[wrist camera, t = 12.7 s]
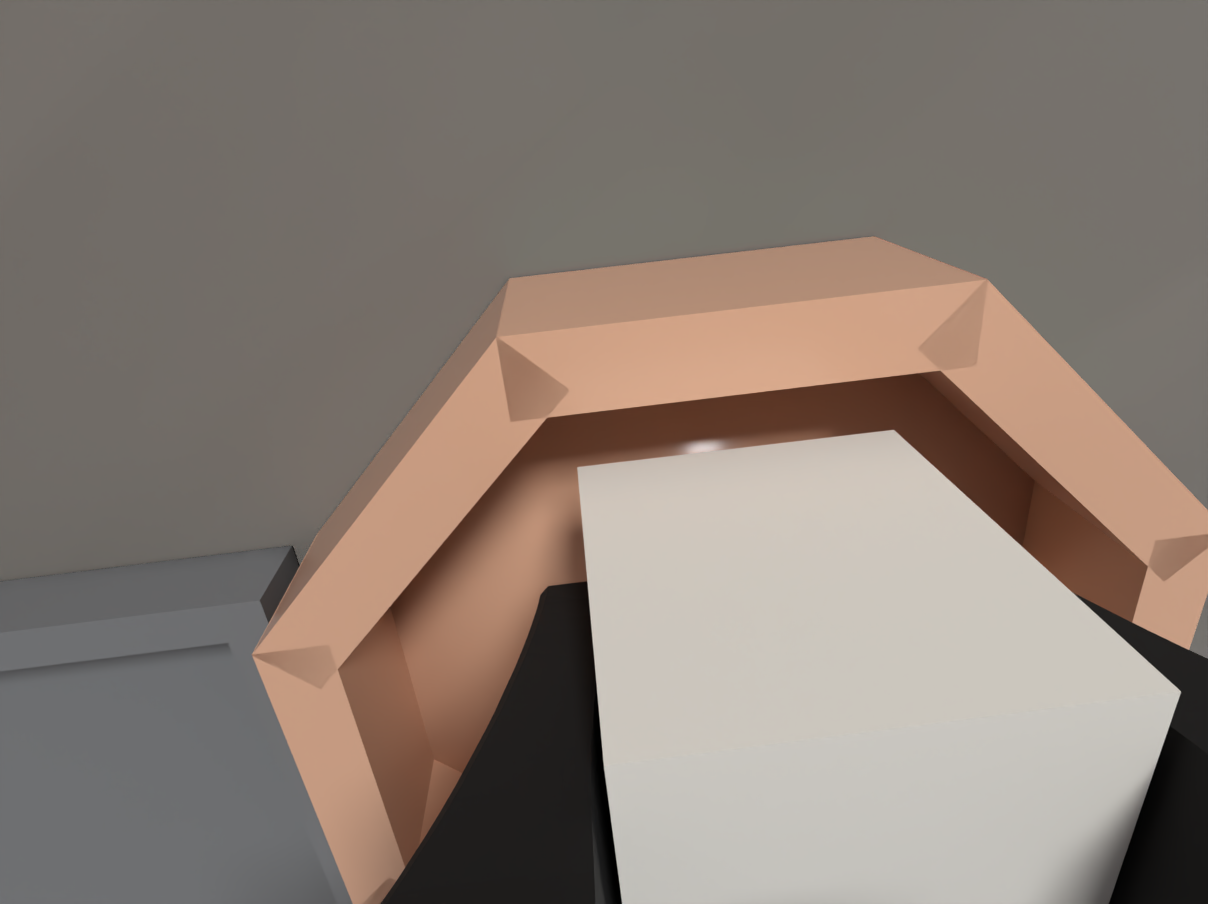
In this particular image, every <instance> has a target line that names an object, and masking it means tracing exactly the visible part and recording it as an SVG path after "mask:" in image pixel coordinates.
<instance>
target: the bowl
mask: <svg viewBox="0 0 1208 904" xmlns="http://www.w3.org/2000/svg"><path fill="white" fill-rule="evenodd" d="M888 430H895V431H896V432H897V433H898V434H899V435H900V436H901V437H902V438H903V439H904V440H906V441H907V442H908V443H909V444H910V445H911V446H912V447H913V448H914V449H915V450H917V451H918V452H919V453H920V454H921V455H922V456H923V457H924V458H925V459H926V460H928V461H929V462H930V463H931V464H932V465H933V466H934V467H935V468H936V469H937V470H939V471H940V472H941V473H942V474H943V475H944V476H945V477H946V478H947V479H948V480H949V481H951V482H952V483H953V484H954V485H955V486H956V487H957V488H958V489H959V490H960V491H962V492H963V493H964V494H965V495H966V496H967V497H968V498H969V499H970V500H971V501H973V502H974V503H975V504H976V505H977V506H978V507H979V508H980V509H981V510H982V511H983V512H985V513H986V514H987V515H988V516H989V517H990V518H991V519H992V520H993V521H994V522H996V523H997V524H998V525H999V526H1000V527H1001V528H1002V529H1003V530H1004V531H1005V532H1007V533H1008V534H1009V535H1010V536H1011V537H1012V538H1013V539H1014V540H1015V541H1016V542H1018V543H1019V544H1020V545H1021V546H1022V547H1023V548H1024V549H1025V550H1026V551H1027V552H1028V553H1030V554H1031V555H1032V556H1033V557H1034V558H1035V559H1036V560H1037V561H1038V562H1039V563H1041V564H1042V565H1043V566H1044V567H1045V568H1046V569H1047V570H1048V571H1049V572H1050V573H1052V574H1053V575H1054V576H1055V577H1056V578H1057V579H1058V580H1059V581H1060V582H1061V583H1063V584H1064V585H1065V586H1066V587H1067V588H1068V589H1069V590H1070V591H1071V592H1073V593H1075V594H1077V595H1079V596H1081V597H1083V598H1085V599H1087V600H1089V601H1091V602H1093V603H1095V604H1097V605H1098V606H1100V607H1102V608H1104V609H1106V610H1108V611H1110V612H1112V613H1114V614H1116V615H1118V616H1120V617H1122V618H1124V619H1126V620H1128V621H1130V622H1132V623H1134V624H1136V625H1138V626H1140V627H1142V628H1144V629H1146V630H1148V631H1150V632H1152V633H1154V634H1157V635H1159V636H1161V637H1163V638H1165V639H1167V640H1169V641H1171V642H1173V643H1175V644H1177V645H1179V646H1181V647H1184V648H1186V649H1188V650H1189V648H1190V645H1191V642H1192V639H1193V636H1194V633H1195V630H1196V627H1197V624H1198V621H1199V618H1200V615H1201V612H1202V609H1203V606H1204V603H1205V600H1206V597H1207V594H1208V510H1207V509H1206V508H1205V507H1204V506H1203V505H1202V504H1201V503H1200V502H1199V501H1198V500H1197V499H1196V498H1195V497H1194V495H1193V494H1192V493H1191V492H1190V491H1189V490H1188V489H1187V488H1186V487H1185V486H1184V485H1183V484H1182V483H1181V482H1180V481H1179V480H1178V479H1177V478H1176V477H1175V476H1174V475H1173V473H1172V472H1171V471H1170V470H1169V469H1168V468H1167V467H1166V466H1165V465H1164V464H1163V463H1162V462H1161V461H1160V460H1159V459H1158V458H1157V457H1156V456H1155V455H1154V454H1153V453H1152V451H1151V450H1150V449H1149V448H1148V447H1147V446H1146V445H1145V444H1144V443H1143V442H1142V441H1141V440H1140V439H1139V438H1138V437H1137V436H1136V435H1135V434H1134V433H1133V432H1132V431H1131V429H1130V428H1129V427H1128V426H1127V425H1126V424H1125V423H1124V422H1123V421H1122V420H1121V419H1120V418H1119V417H1118V416H1117V415H1116V414H1115V413H1114V412H1113V411H1112V410H1111V409H1110V407H1109V406H1108V405H1107V404H1106V403H1105V402H1104V401H1103V400H1102V399H1101V398H1100V397H1099V396H1098V395H1097V394H1096V393H1095V392H1094V391H1093V390H1092V389H1091V388H1090V387H1089V386H1088V384H1087V383H1086V382H1085V381H1084V380H1083V379H1082V378H1081V377H1080V376H1079V375H1078V374H1077V373H1076V372H1075V371H1074V370H1073V369H1072V368H1071V367H1070V366H1069V365H1068V364H1067V362H1066V361H1065V360H1064V359H1063V358H1062V357H1061V356H1060V355H1059V354H1058V353H1057V352H1056V351H1055V350H1054V349H1053V348H1052V347H1051V346H1050V345H1049V344H1048V343H1047V342H1046V340H1045V339H1044V338H1043V337H1042V336H1041V335H1040V334H1039V333H1038V332H1037V331H1036V330H1035V329H1034V328H1033V327H1032V326H1031V325H1030V324H1029V323H1028V322H1027V321H1026V320H1025V318H1024V317H1023V316H1022V315H1021V314H1020V313H1019V312H1018V311H1017V310H1016V309H1015V308H1014V307H1013V306H1012V305H1011V304H1010V303H1009V302H1008V301H1007V300H1006V299H1005V298H1004V297H1003V295H1002V294H1001V293H1000V292H999V291H998V290H997V289H996V288H995V287H994V286H993V285H992V284H991V283H990V282H989V281H988V279H985V278H983V277H980V276H977V275H975V274H972V273H970V272H967V271H964V270H962V269H959V268H956V267H954V266H951V265H948V264H946V263H943V262H941V261H938V260H935V259H933V258H930V257H927V256H925V255H922V254H920V253H917V252H914V251H912V250H909V249H906V248H904V247H901V246H898V245H896V244H893V243H891V242H888V241H885V240H883V239H880V238H877V237H875V236H873V237H865V238H856V239H847V240H839V241H830V242H821V243H813V244H804V245H795V246H787V247H778V248H769V249H761V250H752V251H743V252H735V253H726V254H717V255H708V256H700V257H691V258H682V259H674V260H665V261H656V262H648V263H639V264H630V265H622V266H613V267H604V268H596V269H587V270H578V271H570V272H561V273H552V274H544V275H535V276H526V277H518V278H509V280H508V281H507V282H506V284H505V285H504V286H503V288H502V289H501V290H500V292H499V293H498V294H497V296H496V297H495V298H494V300H493V301H492V302H491V304H490V305H489V306H488V308H487V309H486V310H485V312H484V313H483V314H482V316H481V317H480V318H479V320H478V321H477V322H476V324H475V325H474V326H473V328H472V329H471V330H470V332H469V333H468V334H467V336H466V337H465V338H464V340H463V341H462V342H461V344H460V345H459V346H458V348H457V349H456V350H455V352H454V353H453V354H452V356H451V357H450V358H449V359H448V361H447V362H446V363H445V365H444V366H443V367H442V369H441V370H440V371H439V373H438V374H437V375H436V377H435V378H434V379H433V381H432V382H431V383H430V385H429V386H428V387H427V389H426V390H425V391H424V393H423V394H422V395H421V397H420V398H419V399H418V401H417V402H416V403H415V405H414V406H413V407H412V409H411V410H410V411H409V413H408V414H407V415H406V417H405V418H404V419H403V421H402V422H401V423H400V425H399V426H398V427H397V429H396V430H395V431H394V433H393V434H392V435H391V437H390V438H389V439H388V441H387V442H386V443H385V445H384V446H383V447H382V449H381V450H380V451H379V453H378V454H377V455H376V456H375V458H374V459H373V460H372V462H371V463H370V464H369V466H368V467H367V468H366V470H365V471H364V472H363V474H362V475H361V476H360V478H359V479H358V480H357V482H356V483H355V484H354V486H353V487H352V488H351V490H350V491H349V492H348V494H347V495H346V496H345V498H344V499H343V500H342V502H341V503H340V504H339V506H338V507H337V508H336V510H335V511H334V512H333V514H332V515H331V516H330V518H329V519H328V520H327V522H326V523H325V524H324V526H323V527H322V528H321V530H320V531H319V532H318V534H317V535H316V537H315V539H314V541H313V543H312V545H311V546H310V548H309V550H308V552H307V554H306V556H305V558H304V559H303V561H302V563H301V565H300V567H299V569H298V570H297V572H296V574H295V576H294V578H293V580H292V581H291V583H290V585H289V587H288V589H287V591H286V593H285V594H284V596H283V598H282V600H281V602H280V604H279V605H278V607H277V609H276V611H275V613H274V615H273V616H272V618H271V620H270V622H269V624H268V626H267V628H266V629H265V631H264V633H263V635H262V637H261V639H260V640H259V642H258V644H257V646H256V648H255V650H254V651H253V653H252V656H253V659H254V661H255V664H256V666H257V669H258V671H259V674H260V676H261V678H262V681H263V683H264V686H265V688H266V691H267V693H268V696H269V698H270V701H271V703H272V706H273V708H274V711H275V713H276V716H277V718H278V720H279V723H280V725H281V728H282V730H283V733H284V735H285V738H286V740H287V743H288V745H289V748H290V750H291V753H292V755H293V757H294V760H295V762H296V765H297V767H298V770H299V772H300V775H301V777H302V780H303V782H304V785H305V787H306V790H307V792H308V794H309V797H310V799H311V802H312V804H313V807H314V809H315V812H316V814H317V817H318V819H319V822H320V824H321V827H322V829H323V832H324V834H325V836H326V839H327V841H328V844H329V846H330V849H331V851H332V854H333V856H334V859H335V861H336V864H337V866H338V869H339V871H340V873H341V876H342V878H343V881H344V883H345V886H346V888H347V891H348V893H349V896H350V898H351V901H352V903H353V904H381V902H382V901H383V899H384V898H385V897H386V895H387V894H388V892H389V891H390V889H391V888H392V887H393V885H394V884H395V882H396V881H397V879H398V878H399V876H400V875H401V873H402V872H403V870H404V869H405V867H406V865H407V864H408V862H409V861H410V859H411V858H412V856H413V855H414V853H415V851H416V850H417V848H418V847H419V845H420V844H421V842H422V841H423V839H424V837H425V836H426V834H427V833H428V831H429V829H430V828H431V826H432V825H433V823H434V821H435V820H436V818H437V816H438V815H439V813H440V811H441V810H442V808H443V806H444V805H445V803H446V801H447V799H448V798H449V796H450V794H451V793H452V791H453V789H454V787H455V786H456V784H457V782H458V780H459V778H460V777H461V775H462V773H463V771H464V769H465V767H466V765H467V763H468V762H469V760H470V758H471V756H472V754H473V752H474V750H475V749H476V747H477V745H478V743H479V741H480V739H481V737H482V736H483V734H484V732H485V730H486V728H487V726H488V724H489V722H490V720H491V718H492V716H493V714H494V712H495V710H496V708H497V705H498V703H499V701H500V699H501V697H502V695H503V692H504V690H505V688H506V686H507V684H508V681H509V679H510V677H511V675H512V673H513V671H514V668H515V666H516V664H517V661H518V659H519V656H520V654H521V651H522V649H523V646H524V644H525V641H526V639H527V636H528V633H529V631H530V628H531V625H532V622H533V619H534V616H535V613H536V610H537V606H538V603H539V598H540V595H541V594H542V592H543V591H544V590H545V589H546V588H547V587H548V586H552V585H560V584H568V583H576V582H584V581H587V572H586V560H585V549H584V538H583V527H582V515H581V504H580V493H579V482H578V471H577V467H583V466H591V465H600V464H608V463H617V462H625V461H634V460H642V459H651V458H659V457H667V456H676V455H684V454H693V453H701V452H710V451H718V450H727V449H735V448H744V447H752V446H761V445H769V444H778V443H786V442H795V441H803V440H812V439H820V438H829V437H837V436H846V435H854V434H862V433H871V432H879V431H888Z"/></svg>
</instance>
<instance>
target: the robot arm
mask: <svg viewBox="0 0 1208 904" xmlns="http://www.w3.org/2000/svg"><path fill="white" fill-rule="evenodd" d="M1072 593H1073V592H1072ZM1073 594H1075V593H1073ZM1075 595H1076V596H1077V597H1078V598H1079V599H1080V600H1081V601H1082V602H1083V603H1084V604H1086V605H1087V606H1088V607H1089V608H1090V609H1091V610H1092V611H1093V612H1094V613H1095V614H1097V615H1098V616H1099V617H1100V618H1101V619H1102V620H1103V621H1104V622H1105V623H1106V624H1108V625H1109V626H1110V627H1111V628H1112V629H1113V630H1114V631H1115V632H1116V633H1117V634H1118V635H1120V636H1121V637H1122V638H1123V639H1124V640H1125V641H1126V642H1127V643H1128V644H1129V645H1131V646H1132V647H1133V648H1134V649H1135V650H1136V651H1137V652H1138V653H1139V654H1140V655H1142V656H1143V657H1144V658H1145V659H1146V660H1147V661H1148V662H1149V663H1150V664H1151V665H1153V666H1154V667H1155V668H1156V669H1157V670H1158V671H1159V672H1160V673H1161V674H1162V675H1163V676H1165V677H1166V678H1167V679H1168V680H1169V681H1170V682H1171V683H1172V684H1173V685H1174V686H1176V687H1177V688H1178V689H1179V690H1180V691H1181V694H1180V697H1179V700H1178V702H1177V705H1176V708H1175V711H1174V714H1173V717H1172V720H1171V723H1170V726H1169V729H1168V732H1167V735H1166V738H1165V740H1164V743H1163V746H1162V749H1161V752H1160V755H1159V758H1158V761H1157V764H1156V767H1155V770H1154V773H1153V776H1152V779H1151V781H1150V784H1149V787H1148V790H1147V793H1146V796H1145V799H1144V802H1143V805H1142V808H1141V811H1140V814H1139V817H1138V819H1137V822H1136V825H1135V828H1134V831H1133V834H1132V837H1131V840H1130V843H1129V846H1128V849H1127V852H1126V855H1125V857H1124V860H1123V863H1122V866H1121V869H1120V872H1119V875H1118V878H1117V881H1116V884H1115V887H1114V890H1113V893H1112V896H1111V898H1110V901H1109V904H1208V659H1207V658H1205V657H1203V656H1200V655H1198V654H1196V653H1194V652H1192V651H1190V650H1188V649H1186V648H1184V647H1181V646H1179V645H1177V644H1175V643H1173V642H1171V641H1169V640H1167V639H1165V638H1163V637H1161V636H1159V635H1157V634H1154V633H1152V632H1150V631H1148V630H1146V629H1144V628H1142V627H1140V626H1138V625H1136V624H1134V623H1132V622H1130V621H1128V620H1126V619H1124V618H1122V617H1120V616H1118V615H1116V614H1114V613H1112V612H1110V611H1108V610H1106V609H1104V608H1102V607H1100V606H1098V605H1097V604H1095V603H1093V602H1091V601H1089V600H1087V599H1085V598H1083V597H1081V596H1079V595H1077V594H1075ZM381 904H622V898H621V891H620V883H619V876H618V868H617V861H616V853H615V846H614V838H613V831H612V823H611V816H610V808H609V801H608V793H607V786H606V778H605V771H604V762H603V751H602V740H601V729H600V717H599V706H598V695H597V684H596V672H595V661H594V650H593V639H592V628H591V616H590V605H589V594H588V583H587V581H584V582H576V583H568V584H560V585H552V586H548V587H547V588H546V589H545V590H544V591H543V592H542V594H541V595H540V598H539V603H538V606H537V610H536V613H535V616H534V619H533V622H532V625H531V628H530V631H529V633H528V636H527V639H526V641H525V644H524V646H523V649H522V651H521V654H520V656H519V659H518V661H517V664H516V666H515V668H514V671H513V673H512V675H511V677H510V679H509V681H508V684H507V686H506V688H505V690H504V692H503V695H502V697H501V699H500V701H499V703H498V705H497V708H496V710H495V712H494V714H493V716H492V718H491V720H490V722H489V724H488V726H487V728H486V730H485V732H484V734H483V736H482V737H481V739H480V741H479V743H478V745H477V747H476V749H475V750H474V752H473V754H472V756H471V758H470V760H469V762H468V763H467V765H466V767H465V769H464V771H463V773H462V775H461V777H460V778H459V780H458V782H457V784H456V786H455V787H454V789H453V791H452V793H451V794H450V796H449V798H448V799H447V801H446V803H445V805H444V806H443V808H442V810H441V811H440V813H439V815H438V816H437V818H436V820H435V821H434V823H433V825H432V826H431V828H430V829H429V831H428V833H427V834H426V836H425V837H424V839H423V841H422V842H421V844H420V845H419V847H418V848H417V850H416V851H415V853H414V855H413V856H412V858H411V859H410V861H409V862H408V864H407V865H406V867H405V869H404V870H403V872H402V873H401V875H400V876H399V878H398V879H397V881H396V882H395V884H394V885H393V887H392V888H391V889H390V891H389V892H388V894H387V895H386V897H385V898H384V899H383V901H382V902H381Z"/></svg>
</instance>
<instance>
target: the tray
mask: <svg viewBox="0 0 1208 904" xmlns="http://www.w3.org/2000/svg"><path fill="white" fill-rule="evenodd" d="M298 569H299V565H298V562H297V559H296V556H295V553H294V550H293V547H292V546H284V547H276V548H268V549H260V550H252V551H244V552H236V553H227V554H219V555H211V556H203V557H195V558H187V559H179V560H170V561H162V562H154V563H146V564H138V565H130V566H122V567H114V568H105V569H97V570H89V571H81V572H73V573H65V574H57V575H48V576H40V577H32V578H24V579H16V580H8V581H0V904H353V903H352V901H351V898H350V896H349V893H348V891H347V888H346V886H345V883H344V881H343V878H342V876H341V873H340V871H339V869H338V866H337V864H336V861H335V859H334V856H333V854H332V851H331V849H330V846H329V844H328V841H327V839H326V836H325V834H324V832H323V829H322V827H321V824H320V822H319V819H318V817H317V814H316V812H315V809H314V807H313V804H312V802H311V799H310V797H309V794H308V792H307V790H306V787H305V785H304V782H303V780H302V777H301V775H300V772H299V770H298V767H297V765H296V762H295V760H294V757H293V755H292V753H291V750H290V748H289V745H288V743H287V740H286V738H285V735H284V733H283V730H282V728H281V725H280V723H279V720H278V718H277V716H276V713H275V711H274V708H273V706H272V703H271V701H270V698H269V696H268V693H267V691H266V688H265V686H264V683H263V681H262V678H261V676H260V674H259V671H258V669H257V666H256V664H255V661H254V659H253V656H252V653H253V651H254V650H255V648H256V646H257V644H258V642H259V640H260V639H261V637H262V635H263V633H264V631H265V629H266V628H267V626H268V624H269V622H270V620H271V618H272V616H273V615H274V613H275V611H276V609H277V607H278V605H279V604H280V602H281V600H282V598H283V596H284V594H285V593H286V591H287V589H288V587H289V585H290V583H291V581H292V580H293V578H294V576H295V574H296V572H297V570H298Z"/></svg>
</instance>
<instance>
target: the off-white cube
mask: <svg viewBox="0 0 1208 904" xmlns="http://www.w3.org/2000/svg"><path fill="white" fill-rule="evenodd" d="M577 471H578V482H579V493H580V504H581V515H582V527H583V538H584V549H585V560H586V572H587V583H588V594H589V605H590V616H591V628H592V639H593V650H594V661H595V672H596V684H597V695H598V706H599V717H600V729H601V740H602V751H603V762H604V771H605V778H606V786H607V793H608V801H609V808H610V816H611V823H612V831H613V838H614V846H615V853H616V861H617V868H618V876H619V883H620V891H621V898H622V904H1109V901H1110V898H1111V896H1112V893H1113V890H1114V887H1115V884H1116V881H1117V878H1118V875H1119V872H1120V869H1121V866H1122V863H1123V860H1124V857H1125V855H1126V852H1127V849H1128V846H1129V843H1130V840H1131V837H1132V834H1133V831H1134V828H1135V825H1136V822H1137V819H1138V817H1139V814H1140V811H1141V808H1142V805H1143V802H1144V799H1145V796H1146V793H1147V790H1148V787H1149V784H1150V781H1151V779H1152V776H1153V773H1154V770H1155V767H1156V764H1157V761H1158V758H1159V755H1160V752H1161V749H1162V746H1163V743H1164V740H1165V738H1166V735H1167V732H1168V729H1169V726H1170V723H1171V720H1172V717H1173V714H1174V711H1175V708H1176V705H1177V702H1178V700H1179V697H1180V694H1181V691H1180V690H1179V689H1178V688H1177V687H1176V686H1174V685H1173V684H1172V683H1171V682H1170V681H1169V680H1168V679H1167V678H1166V677H1165V676H1163V675H1162V674H1161V673H1160V672H1159V671H1158V670H1157V669H1156V668H1155V667H1154V666H1153V665H1151V664H1150V663H1149V662H1148V661H1147V660H1146V659H1145V658H1144V657H1143V656H1142V655H1140V654H1139V653H1138V652H1137V651H1136V650H1135V649H1134V648H1133V647H1132V646H1131V645H1129V644H1128V643H1127V642H1126V641H1125V640H1124V639H1123V638H1122V637H1121V636H1120V635H1118V634H1117V633H1116V632H1115V631H1114V630H1113V629H1112V628H1111V627H1110V626H1109V625H1108V624H1106V623H1105V622H1104V621H1103V620H1102V619H1101V618H1100V617H1099V616H1098V615H1097V614H1095V613H1094V612H1093V611H1092V610H1091V609H1090V608H1089V607H1088V606H1087V605H1086V604H1084V603H1083V602H1082V601H1081V600H1080V599H1079V598H1078V597H1077V596H1076V595H1075V594H1073V593H1072V592H1071V591H1070V590H1069V589H1068V588H1067V587H1066V586H1065V585H1064V584H1063V583H1061V582H1060V581H1059V580H1058V579H1057V578H1056V577H1055V576H1054V575H1053V574H1052V573H1050V572H1049V571H1048V570H1047V569H1046V568H1045V567H1044V566H1043V565H1042V564H1041V563H1039V562H1038V561H1037V560H1036V559H1035V558H1034V557H1033V556H1032V555H1031V554H1030V553H1028V552H1027V551H1026V550H1025V549H1024V548H1023V547H1022V546H1021V545H1020V544H1019V543H1018V542H1016V541H1015V540H1014V539H1013V538H1012V537H1011V536H1010V535H1009V534H1008V533H1007V532H1005V531H1004V530H1003V529H1002V528H1001V527H1000V526H999V525H998V524H997V523H996V522H994V521H993V520H992V519H991V518H990V517H989V516H988V515H987V514H986V513H985V512H983V511H982V510H981V509H980V508H979V507H978V506H977V505H976V504H975V503H974V502H973V501H971V500H970V499H969V498H968V497H967V496H966V495H965V494H964V493H963V492H962V491H960V490H959V489H958V488H957V487H956V486H955V485H954V484H953V483H952V482H951V481H949V480H948V479H947V478H946V477H945V476H944V475H943V474H942V473H941V472H940V471H939V470H937V469H936V468H935V467H934V466H933V465H932V464H931V463H930V462H929V461H928V460H926V459H925V458H924V457H923V456H922V455H921V454H920V453H919V452H918V451H917V450H915V449H914V448H913V447H912V446H911V445H910V444H909V443H908V442H907V441H906V440H904V439H903V438H902V437H901V436H900V435H899V434H898V433H897V432H896V431H895V430H888V431H879V432H871V433H862V434H854V435H846V436H837V437H829V438H820V439H812V440H803V441H795V442H786V443H778V444H769V445H761V446H752V447H744V448H735V449H727V450H718V451H710V452H701V453H693V454H684V455H676V456H667V457H659V458H651V459H642V460H634V461H625V462H617V463H608V464H600V465H591V466H583V467H577Z"/></svg>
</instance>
